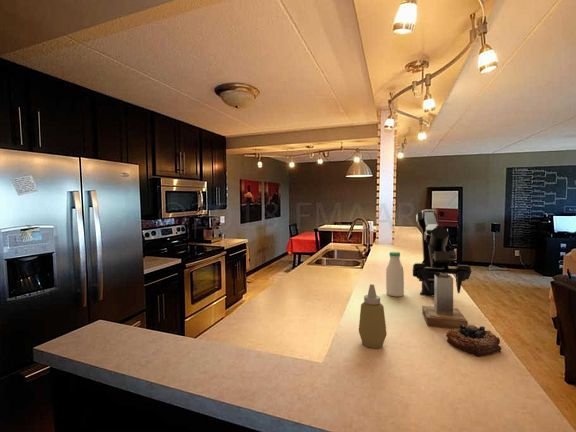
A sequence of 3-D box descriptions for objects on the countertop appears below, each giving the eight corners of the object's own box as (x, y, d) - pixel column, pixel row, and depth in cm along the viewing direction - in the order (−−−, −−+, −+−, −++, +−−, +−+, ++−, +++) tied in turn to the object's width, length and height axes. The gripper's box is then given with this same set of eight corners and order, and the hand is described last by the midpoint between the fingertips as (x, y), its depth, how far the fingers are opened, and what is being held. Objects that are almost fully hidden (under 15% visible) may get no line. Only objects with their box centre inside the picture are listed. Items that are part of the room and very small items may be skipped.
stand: (422, 313, 107) (422, 305, 107) (458, 316, 103) (457, 308, 103) (427, 326, 96) (427, 316, 96) (467, 330, 92) (467, 320, 92)
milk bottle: (404, 297, 126) (404, 253, 125) (386, 296, 128) (386, 253, 128) (403, 292, 133) (403, 251, 133) (386, 291, 136) (385, 250, 135)
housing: (434, 309, 103) (434, 270, 102) (449, 310, 101) (449, 271, 101) (436, 314, 98) (437, 273, 97) (453, 315, 96) (453, 274, 96)
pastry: (507, 352, 78) (507, 331, 78) (476, 360, 74) (476, 338, 74) (470, 335, 89) (470, 317, 89) (441, 342, 85) (441, 323, 85)
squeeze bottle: (356, 348, 81) (356, 287, 81) (360, 336, 89) (359, 280, 89) (386, 353, 78) (385, 289, 78) (387, 340, 86) (386, 282, 86)
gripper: (413, 241, 105) (416, 277, 95) (470, 243, 100) (480, 281, 89) (411, 258, 113) (414, 293, 103) (463, 260, 107) (472, 298, 97)
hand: (444, 291), depth 98 cm, fingers open, 9 cm apart
